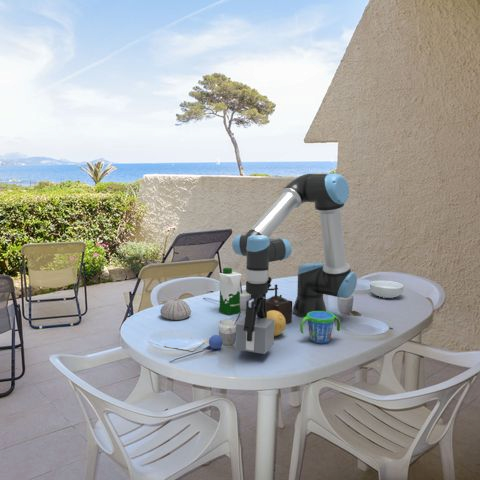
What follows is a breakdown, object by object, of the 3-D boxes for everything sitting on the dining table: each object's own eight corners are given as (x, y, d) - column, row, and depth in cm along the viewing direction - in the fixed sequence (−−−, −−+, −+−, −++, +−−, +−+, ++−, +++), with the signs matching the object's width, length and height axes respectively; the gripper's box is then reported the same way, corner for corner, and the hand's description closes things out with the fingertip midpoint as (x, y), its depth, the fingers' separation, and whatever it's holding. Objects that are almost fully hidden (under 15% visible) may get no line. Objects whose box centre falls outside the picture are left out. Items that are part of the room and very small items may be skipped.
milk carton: (231, 308, 209) (231, 266, 207) (243, 312, 202) (244, 269, 200) (216, 311, 204) (216, 268, 201) (228, 316, 197) (229, 272, 194)
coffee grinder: (293, 322, 190) (295, 281, 188) (277, 327, 183) (278, 285, 180) (266, 314, 201) (267, 275, 199) (249, 319, 193) (250, 278, 191)
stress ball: (258, 339, 171) (271, 329, 164) (253, 316, 176) (266, 305, 169) (280, 340, 176) (293, 329, 169) (274, 317, 181) (287, 306, 174)
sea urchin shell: (173, 311, 204) (173, 294, 203) (197, 316, 197) (197, 298, 196) (154, 318, 193) (153, 300, 192) (178, 324, 186) (178, 305, 185)
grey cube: (273, 343, 156) (274, 319, 155) (264, 354, 147) (265, 328, 145) (246, 339, 160) (246, 316, 158) (235, 349, 150) (236, 324, 149)
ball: (224, 347, 160) (225, 333, 160) (219, 352, 156) (219, 338, 155) (212, 345, 162) (212, 332, 161) (206, 350, 157) (206, 336, 157)
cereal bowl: (362, 294, 239) (363, 281, 238) (386, 291, 246) (387, 279, 245) (385, 302, 224) (385, 288, 223) (409, 299, 231) (410, 286, 230)
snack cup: (303, 346, 163) (304, 319, 161) (296, 336, 173) (297, 310, 172) (344, 345, 164) (345, 318, 163) (335, 335, 175) (336, 310, 173)
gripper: (257, 274, 162) (255, 332, 165) (234, 287, 141) (232, 354, 144) (277, 276, 159) (275, 335, 162) (256, 289, 138) (254, 357, 141)
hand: (255, 344), depth 153 cm, fingers closed on grey cube, 10 cm apart
